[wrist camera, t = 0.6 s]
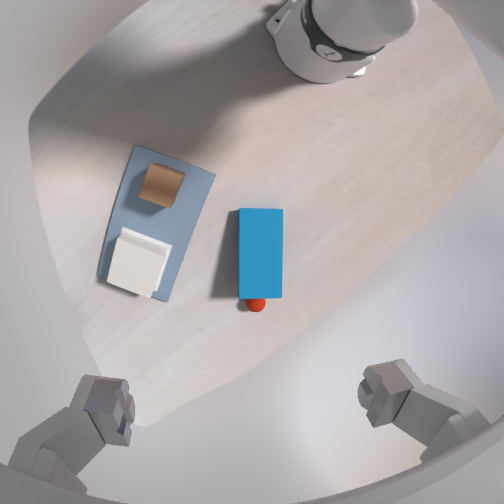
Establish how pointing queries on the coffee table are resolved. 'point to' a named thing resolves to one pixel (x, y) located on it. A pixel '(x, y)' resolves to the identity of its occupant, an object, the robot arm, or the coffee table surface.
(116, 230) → the board
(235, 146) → the coffee table surface
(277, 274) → the lever
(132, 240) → the base block
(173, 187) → the walnut cube
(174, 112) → the coffee table surface
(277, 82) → the coffee table surface
